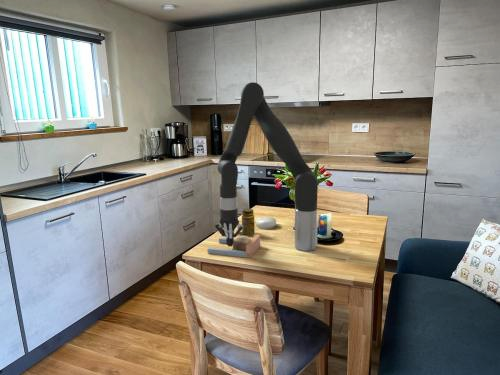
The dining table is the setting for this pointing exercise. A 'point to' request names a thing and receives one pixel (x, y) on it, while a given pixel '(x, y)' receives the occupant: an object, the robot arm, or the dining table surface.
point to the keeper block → (241, 244)
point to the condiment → (247, 223)
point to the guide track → (249, 252)
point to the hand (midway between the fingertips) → (230, 245)
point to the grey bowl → (266, 222)
